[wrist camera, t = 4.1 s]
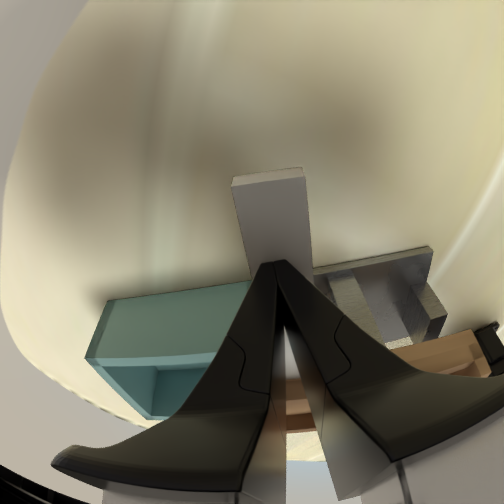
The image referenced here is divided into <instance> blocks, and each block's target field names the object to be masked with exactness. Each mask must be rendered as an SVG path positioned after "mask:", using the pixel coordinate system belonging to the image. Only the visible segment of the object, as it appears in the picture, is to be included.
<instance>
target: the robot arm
mask: <svg viewBox="0 0 504 504" xmlns="http://www.w3.org/2000/svg"><path fill="white" fill-rule="evenodd" d="M499 326H500V325H499V323H498V322H497V323H495V324H492V325H490V326H488V327H486V328H484V329H481V330H479V331H477V332H474V333H473V334H474V336H475V338H476V339H477V342H478V344H479V346H480V348H481V350H482V352H483V354H484V356H485V358H486V360H487V363H488V365H489V367H490V369H491V373H490V375H489V376H488V377H487V378H483V377H469V376H458V375H449V374H440V373H432V372H426V371H423V370H420V369H418V368H416V367H414V366H412V365H410V364H409V363H407V362H406V361H404V360H403V359H402V358H400V357H399V356H397V355H396V354H395V353H393V352H392V351H390V350H389V349H388V348H386V347H385V346H384V345H382V344H381V343H379V342H378V341H377V340H375V339H374V338H373V337H371V336H370V335H369V334H367V333H366V332H365V331H364V330H362V329H361V328H360V327H359V326H358V325H357V324H356V323H354V322H353V321H352V320H351V319H350V318H349V317H348V316H347V315H346V314H345V315H344V312H343V311H341V310H340V309H339V308H338V307H337V306H336V305H335V304H334V303H333V302H332V301H331V300H330V299H329V298H328V297H326V296H325V295H324V294H323V293H322V292H321V291H320V290H319V289H318V288H317V287H316V286H315V285H313V284H312V283H311V282H310V281H309V280H308V279H307V278H306V277H305V276H304V275H303V274H301V273H300V272H299V271H298V270H297V269H296V268H295V267H294V266H293V265H292V264H291V263H289V262H288V261H287V260H286V259H281V260H276V261H274V262H272V261H270V262H265V263H261V264H260V266H259V268H258V270H257V272H256V274H255V276H254V278H253V280H252V282H251V284H250V286H249V288H248V290H247V293H246V295H245V297H244V299H243V301H242V303H241V305H240V307H239V309H238V311H237V313H236V315H235V317H234V319H233V321H232V323H231V325H230V328H229V330H228V332H227V334H226V335H227V336H225V337H224V339H223V342H222V344H221V346H220V347H219V349H218V351H217V353H216V355H215V357H214V358H213V360H212V362H211V363H210V365H209V366H208V368H207V369H206V371H205V372H204V374H203V375H202V377H201V378H200V380H199V381H198V383H197V384H196V386H195V387H194V389H193V390H192V391H191V393H190V394H189V396H188V397H187V399H186V400H185V401H184V403H183V404H182V406H181V407H180V408H179V409H178V410H177V411H176V412H175V413H174V414H173V415H172V416H170V417H169V418H168V419H166V420H164V421H162V422H160V423H158V424H157V425H155V426H153V427H151V428H149V429H147V430H145V431H143V432H141V433H139V434H137V435H135V436H133V437H131V438H129V439H126V440H124V441H122V442H120V443H118V444H115V445H113V446H109V447H105V448H90V447H85V446H80V445H72V446H70V447H68V448H66V449H65V450H63V451H62V452H60V453H58V455H56V457H55V458H54V459H53V461H52V462H51V466H52V467H53V468H55V469H56V470H58V471H60V472H62V473H64V474H66V475H68V476H71V477H73V478H75V479H78V480H80V481H82V482H84V483H87V484H89V485H92V486H94V487H97V488H100V489H103V500H102V504H286V365H285V331H286V334H287V337H288V340H289V343H290V346H291V349H292V353H293V356H294V359H295V362H296V365H297V368H298V372H299V375H300V378H301V381H302V384H303V387H304V391H305V394H306V397H307V400H308V403H309V407H310V410H311V413H312V416H313V419H314V423H315V426H316V429H317V432H318V435H319V439H320V441H321V445H322V448H323V452H324V455H325V458H326V461H327V464H328V468H329V471H330V474H331V478H332V481H333V484H334V488H335V491H336V494H337V498H338V501H340V500H344V499H348V498H352V497H356V496H360V495H361V500H362V504H504V346H503V344H502V342H501V341H500V339H499V337H498V336H497V334H496V331H497V329H498V328H499ZM284 327H285V331H284ZM0 504H89V503H86V502H83V501H80V500H77V499H74V498H72V497H69V496H66V495H64V494H61V493H58V492H56V491H53V490H51V489H48V488H46V487H44V486H42V485H39V484H37V483H35V482H33V481H31V480H29V479H27V478H24V477H22V476H21V475H18V474H17V473H15V472H13V471H11V470H9V469H7V468H6V467H4V466H2V465H0Z"/></svg>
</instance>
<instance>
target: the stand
mask: <svg viewBox="0 0 504 504" xmlns="http://www.w3.org/2000/svg"><path fill="white" fill-rule="evenodd" d="M432 256H433V250H432V249H431V248H430V247H429V246H428V247H423V248H418V249H413V250H408V251H403V252H398V253H393V254H388V255H383V256H378V257H373V258H368V259H363V260H357V261H352V262H347V263H341V264H336V265H330V266H325V267H319V268H314V269H313V282H314V285H315V286H316V287H317V288H318V289H319V290H320V291H321V292H322V293H323V294H324V295H325V296H326V297H328V298H329V299H330V300H331V301H332V302H333V303H334V304H335V305H336V306H337V307H338V308H339V309H340V310H341V311H343V312H344V315H345V314H346V315H347V316H348V317H349V318H350V319H351V320H352V321H353V322H354V323H356V324H357V325H358V326H359V327H360V328H361V329H362V330H364V331H365V332H366V333H367V334H369V335H370V336H371V337H373V338H374V339H375V340H377V341H378V342H379V343H381V344H382V345H384V346H385V343H387V342H391V341H394V340H398V339H401V338H405V337H408V336H410V338H411V340H412V342H413V344H417V343H421V342H425V341H429V340H433V339H437V338H438V336H439V334H440V332H441V329H442V327H443V325H444V322H445V320H446V318H447V315H448V313H447V312H446V310H445V309H444V307H443V305H442V304H441V302H440V301H439V299H438V298H437V296H436V295H435V293H434V292H433V290H432V289H431V287H430V286H429V284H428V283H427V277H428V273H429V269H430V265H431V260H432ZM385 347H386V346H385Z"/></svg>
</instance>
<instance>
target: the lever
mask: <svg viewBox="0 0 504 504" xmlns="http://www.w3.org/2000/svg"><path fill="white" fill-rule="evenodd" d="M231 189H232V194H233V198H234V203H235V207H236V211H237V216H238V220H239V225H240V229H241V233H242V238H243V242H244V246H245V251H246V255H247V259H248V264H249V268H250V273H251V277H252V280H253V278H254V276H255V274H256V272H257V270H258V268H259V266H260V264H261V263H265V262H270V261H272V262H274V261H276V260H281V259H286V260H287V261H288V262H289V263H291V264H292V265H293V266H294V267H295V268H296V269H297V270H298V271H299V272H300V273H301V274H303V275H304V276H305V277H306V278H307V279H308V280H309V281H310V282H311V283H312V284H313V285H314V282H313V264H312V249H311V236H310V223H309V212H308V201H307V191H306V181H305V175H304V172H303V170H302V167H297V168H289V169H281V170H274V171H266V172H260V173H253V174H246V175H240V176H234V177H233V181H232V184H231ZM284 331H285V327H284ZM390 351H392V352H393V353H395V354H396V355H397V356H399V357H400V358H402V359H403V360H404V361H406V362H407V363H409V364H410V365H412V366H414V367H416V368H418V369H420V370H423V371H426V372H432V373H440V374H449V375H458V376H469V377H483V378H487V377H488V376H489V375H490V373H491V369H490V367H489V365H488V363H487V360H486V358H485V356H484V354H483V352H482V350H481V348H480V346H479V344H478V342H477V339H476V338H475V336H474V334H473V332H472V330H471V329H469V330H465V331H462V332H459V333H455V334H452V335H448V336H445V337H441V338H437V339H433V340H429V341H425V342H421V343H417V344H413V345H409V346H404V347H400V348H395V349H390ZM285 365H286V434H287V433H299V432H310V431H317V429H316V426H315V423H314V419H313V416H312V413H311V410H310V407H309V403H308V400H307V397H306V394H305V391H304V387H303V384H302V381H301V378H300V375H299V372H298V368H297V365H296V362H295V359H294V356H293V353H292V349H291V346H290V343H289V340H288V337H287V334H286V331H285Z"/></svg>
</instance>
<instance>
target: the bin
mask: <svg viewBox="0 0 504 504" xmlns="http://www.w3.org/2000/svg"><path fill="white" fill-rule="evenodd" d="M251 282H252V280H251V281H244V282H238V283H232V284H225V285H219V286H212V287H206V288H199V289H192V290H185V291H178V292H171V293H164V294H157V295H150V296H142V297H135V298H127V299H119V300H111V301H107V304H106V306H105V308H104V310H103V313H102V315H101V317H100V320H99V322H98V325H97V327H96V330H95V332H94V334H93V337H92V339H91V342H90V345H89V347H88V350H87V352H86V355H85V359H86V361H87V362H88V363H89V364H90V365H91V366H92V367H93V368H94V369H95V370H96V372H97V373H98V374H99V375H100V376H101V377H102V378H103V379H104V380H105V381H106V382H107V383H108V384H109V385H110V386H111V387H112V388H113V389H114V390H115V391H116V392H117V393H118V394H119V395H120V396H121V397H122V398H123V399H124V400H125V401H126V402H127V403H128V404H130V405H131V406H132V407H133V408H134V409H135V410H136V411H137V412H138V413H139V414H141V415H142V416H143V417H144V418H145V419H146V420H166V419H168V418H169V417H170V416H172V415H173V414H174V413H175V412H176V411H177V410H178V409H179V408H180V407H181V406H182V404H183V403H184V401H185V400H186V399H187V397H188V396H189V394H190V393H191V391H192V390H193V389H194V387H195V386H196V384H197V383H198V381H199V380H200V378H201V377H202V375H203V374H204V372H205V371H206V369H207V368H208V366H209V365H210V363H211V362H212V360H213V358H214V357H215V355H216V353H217V351H218V349H219V347H220V346H221V344H222V342H223V339H224V337H225V336H227V335H226V334H227V332H228V330H229V328H230V325H231V323H232V321H233V319H234V317H235V315H236V313H237V311H238V309H239V307H240V305H241V303H242V301H243V299H244V297H245V295H246V293H247V290H248V288H249V286H250V284H251Z"/></svg>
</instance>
